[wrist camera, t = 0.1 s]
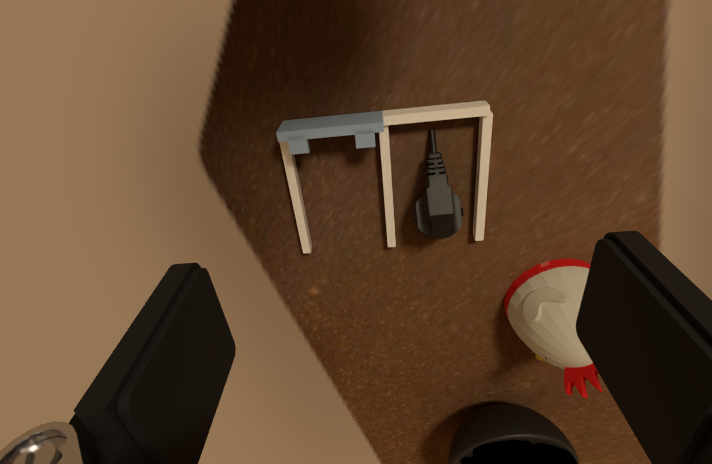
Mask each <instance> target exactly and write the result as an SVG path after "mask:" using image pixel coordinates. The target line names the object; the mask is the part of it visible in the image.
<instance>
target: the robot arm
mask: <svg viewBox="0 0 712 464" xmlns="http://www.w3.org/2000/svg"><path fill="white" fill-rule="evenodd" d="M576 333H577V336H578V338H579V340H580V342H581V343H582V345H583V347H584V349H585V350H586V352H587V354H588V355H589V357H590V359H591V360H592V362H593V364H594V366H595V367H596V369H597V371H598V372H599V374H600V376H601V378H602V379H603V381H604V383H605V384H606V386H607V388H608V390H609V391H610V393H611V395H612V396H613V398H614V400H615V401H616V403H617V405H618V407H619V408H620V410H621V412H622V413H623V415H624V417H625V419H626V420H627V422H628V424H629V425H630V427H631V429H632V430H633V432H634V434H635V436H636V437H637V439H638V441H639V442H640V444H641V446H642V448H643V449H644V451H645V453H646V454H647V456H648V458H649V459H650V461H651V463H652V464H712V300H710V299H709V298H708V297H707V296H706V295H705V294H704V293H703V292H702V291H701V290H700V289H699V288H698V287H697V286H696V285H695V284H693V283H692V282H691V281H690V280H689V279H688V278H687V277H686V276H685V275H684V274H683V273H682V272H681V271H680V270H679V269H677V267H675V266H674V265H673V264H672V263H671V262H670V261H669V260H668V259H667V258H666V257H665V256H664V255H663V254H662V253H661V252H660V251H658V250H657V249H656V248H655V247H654V246H653V245H652V244H651V243H650V242H649V241H648V240H647V239H646V238H645V237H644V236H643V235H641V234H640V233H639V232H637V231H623V232H610V233H607V234H606V235H605V236H604V238H603V239H600V240H598V241H597V243H596V245H595V249H594V253H593V257H592V261H591V265H590V269H589V273H588V277H587V281H586V285H585V289H584V293H583V297H582V300H581V304H580V308H579V312H578V316H577V320H576ZM234 357H235V343H234V340H233V337H232V334H231V332H230V329H229V326H228V324H227V321H226V318H225V316H224V313H223V310H222V308H221V305H220V302H219V300H218V297H217V294H216V292H215V289H214V286H213V283H212V281H211V278H210V275H209V273H208V271H207V270H206V268H201V267H200V265H199V264H198V263H185V264H174V265H172V266H171V267H170V268H169V269H168V271H167V272H166V274H165V275H164V277H163V278H162V280H161V281H160V283H159V284H158V286H157V287H156V289H155V290H154V291H153V293H152V294H151V296H150V297H149V299H148V301H147V302H146V303H145V305H144V306H143V308H142V309H141V311H140V312H139V314H138V315H137V317H136V318H135V320H134V321H133V323H132V324H131V326H130V327H129V329H128V331H127V332H126V333H125V335H124V336H123V338H122V339H121V341H120V342H119V344H118V345H117V347H116V348H115V350H114V351H113V353H112V354H111V356H110V357H109V358H108V360H107V361H106V363H105V364H104V366H103V367H102V369H101V370H100V372H99V373H98V375H97V376H96V378H95V379H94V381H93V383H92V384H91V385H90V387H89V388H88V390H87V391H86V393H85V394H84V396H83V397H82V399H81V400H80V402H79V403H78V405H77V406H76V408H75V409H74V412H75V415H74V416H73V418H72V419H71V421H70V422H69V424H68V423H66V422H51V423H46V424H42V425H40V426H37V427H35V428H33V429H31V430H29V431H27V432H25V433H24V434H22V435H21V436H19V437H17V438H16V439H14V440H13V441H12V442H11V443H10V444H8V445H7V446H6V447H5V448H4V449H3V450H2V451H0V464H198V462H199V459H200V456H201V453H202V450H203V447H204V444H205V441H206V439H207V436H208V433H209V430H210V427H211V424H212V421H213V418H214V415H215V413H216V410H217V407H218V404H219V401H220V398H221V395H222V392H223V389H224V386H225V383H226V381H227V378H228V375H229V372H230V369H231V366H232V363H233V360H234Z"/></svg>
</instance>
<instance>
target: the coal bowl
mask: <svg viewBox="0 0 712 464" xmlns="http://www.w3.org/2000/svg"><path fill="white" fill-rule="evenodd" d="M448 464H579V460H578V456H577V454H576V452H575V450H574V448H573V446H572V445H571V443H570V442H569V440H568V439H567V438H566V436H565V435H564V434H563V433H562V432H561V431H560V429H559V428H558V427H557V426H556V425H554V424H553V423H552V422H551V421H550V420H548V419H547V418H546V417H544V416H543V415H541V414H539V413H538V412H536V411H534V410H531V409H529V408H527V407H523V406H520V405H515V404H504V403H503V404H493V405H489V406H486V407H483V408H481V409H479V410H477V411H475V412H474V413H472V414H471V415H470V416H468V417H467V418H466V419H465V420H464V421H463V423H462V424H461V425H460V426H459V428H458V430H457V431H456V433H455V435H454V438H453V440H452V443H451V447H450V452H449V460H448Z"/></svg>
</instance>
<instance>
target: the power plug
mask: <svg viewBox="0 0 712 464" xmlns="http://www.w3.org/2000/svg"><path fill="white" fill-rule="evenodd" d="M429 140H430V149H431V153H429V154H428V156H427V178H426V183H427V188H426V192H425V193H424V194H423V195H422V196H421V197H420V198H419V199H418V201H417V203H416V205H415V213H413V222H416V223H417V230H418V231H419V232H420V233H421V234H422V235H424V236H426V237H428V238H431V239H441V238H442V239H443V238H446V237H449V236H451V235H453V234H455V233H456V232H457V231H458V230H459V228H460V227H461V225H462V216H463V208H461V207H460V199H459V198H458V197H457V196H456V195H455V194H454V193H452V190H451V186H450V185H448V177H447V174H445V172H446V169H445V166H444V164H443V159H442V155H441V153H440V152H437V148H436V139H435V130H429Z"/></svg>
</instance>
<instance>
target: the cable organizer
mask: <svg viewBox="0 0 712 464" xmlns="http://www.w3.org/2000/svg"><path fill="white" fill-rule="evenodd" d="M479 116H480V117H479ZM469 117H479V134H478V151H477V168H476V185H475V202H474V219H473V237H474V239H475V241H480V240H483V238H484V225H485V212H486V198H487V185H488V172H489V159H490V146H491V133H492V119H493V113H492V112H491V111H490V105H489V104H488V103H487V102H486V101H477V102H467V103H457V104H446V105H436V106H426V107H416V108H406V109H396V110H386V111H375V112H365V113H355V114H345V115H335V116H325V117H315V118H304V119H294V120H284V121H282V123H281V125H280V127H279V128H278V130H277V132H276V134H277V139H278V142H280V147H281V152H282V156H283V161H284V166H285V170H286V175H287V180H288V184H289V189H290V194H291V198H292V203H293V208H294V213H295V217H296V222H297V227H298V231H299V236H300V241H301V245H302V250H303V254H304V253H311V250H312V243H311V238H310V233H309V228H308V223H307V218H306V213H305V208H304V203H303V198H302V192H301V187H300V182H299V177H298V172H297V167H296V162H295V157H294V154H303V153H309V152H310V147H309V142H308V139H314V138H325V137H335V136H346V135H355V140H356V149H357V148H368V147H376V146H375V133H378V132H379V136H380V150H381V163H382V176H383V189H384V203H385V216H386V229H387V242H388V247H396V243H395V227H394V211H393V195H392V179H391V163H390V148H389V132H388V125H396V124H406V123H416V122H427V121H437V120H448V119H458V118H469Z"/></svg>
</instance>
